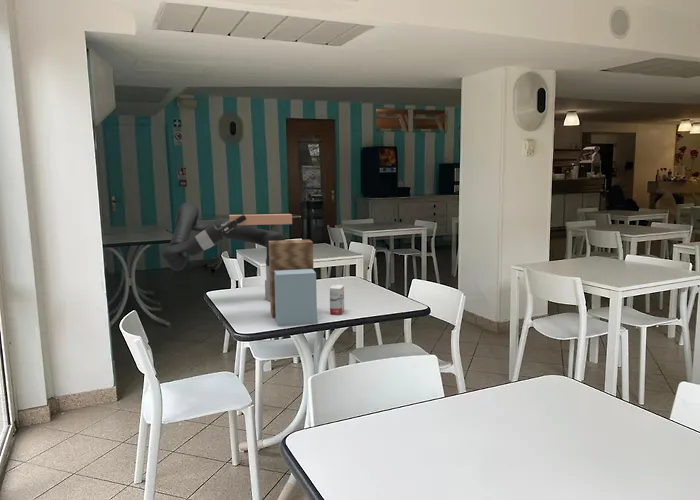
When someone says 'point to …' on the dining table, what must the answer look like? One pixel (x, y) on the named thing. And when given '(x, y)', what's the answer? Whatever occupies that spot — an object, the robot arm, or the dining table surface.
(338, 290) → the ink box
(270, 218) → the bar
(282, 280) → the grey foam block
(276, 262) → the plinth
